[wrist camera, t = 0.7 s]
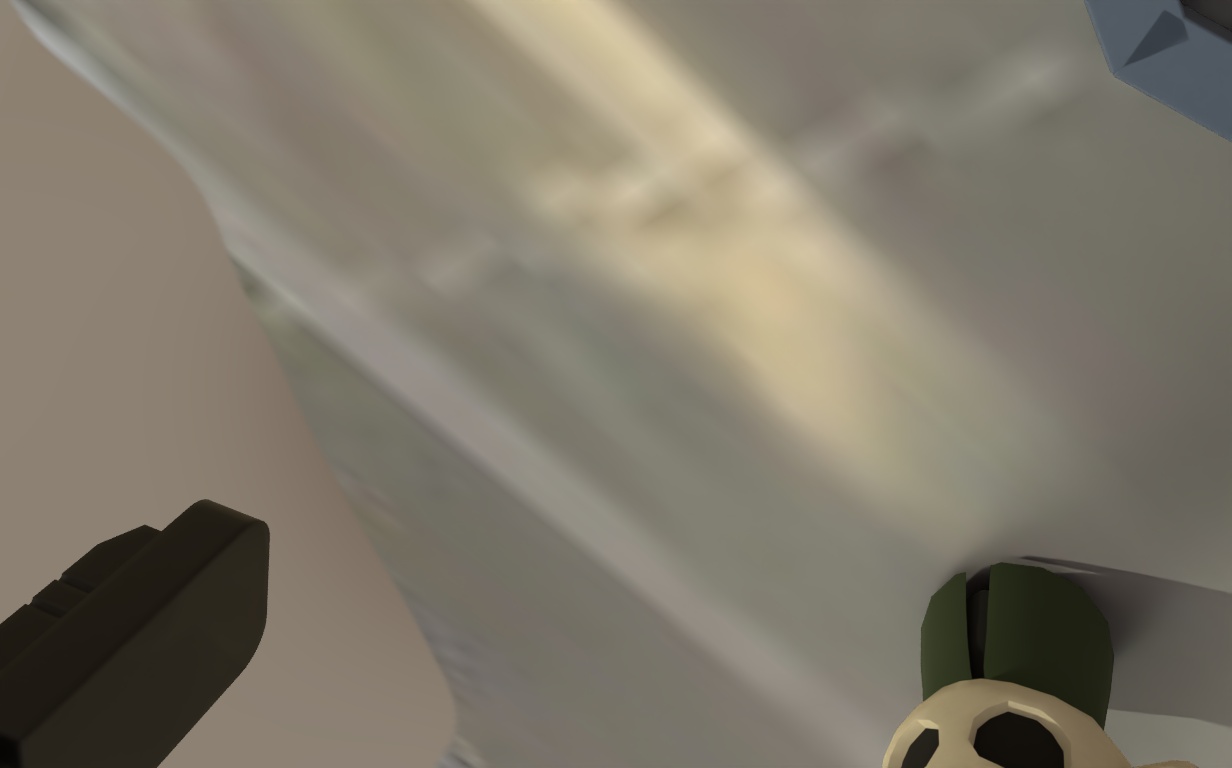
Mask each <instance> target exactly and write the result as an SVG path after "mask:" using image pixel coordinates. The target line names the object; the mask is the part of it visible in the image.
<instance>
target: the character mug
mask: <svg viewBox="0 0 1232 768" xmlns="http://www.w3.org/2000/svg"><path fill="white" fill-rule="evenodd" d="M1113 662H1114V654H1113V648H1112V643H1111V638H1110V632H1109V627H1108V622H1107V621H1106V620H1105V618H1104V617H1103V616H1102V614H1101V613H1100V612H1099V610H1098V609H1097V608H1096V606H1095V605H1094V603H1093V602H1092V601H1091V599H1090V598H1089V597H1088V595H1087V594H1086V593H1085V591H1084V590H1083V589H1082V588H1081V587H1079V586H1077V585H1075V584H1073V583H1071V582H1069V581H1067V580H1066V579H1064V578H1062V577H1060V576H1058V575H1056V574H1054V573H1052V572H1050V571H1048V570H1046V569H1044V568H1040V567H1032V566H1024V565H1016V564H1008V563H998V564H995V565H991V570H990V583H989V590H987V591H979V592H977V593H975V594H974V595H972V596H970V597H969V598H967V599H966V572H965V573H961V574H957V575H955V576H954V577H953V578H952V579H951V580H950V581H948V582H947V583H946V584H945V585H944V586H943V587H942V588H941V589H940V590H938V591H937V592H936V593H935V594H934V595H933V596H932V597H931V600H930V603H929V606H928V609H927V612H926V615H925V618H924V621H923V624H922V627H921V675H922V688H923V703H921V704H920V705H919V706H917V707H916V708H915V709H914V710H913V711H912V713H911V714H910V715H909V716H908V717H907V718H906V719H905V721H904V722H903V723H902V724H901V725H900V726H899V727H898V729H897V730H896V732H895V734H894V736H893V738H892V741H891V743H890V745H889V747H888V750H887V752H886V754H885V756H884V761H883V767H882V768H1131V765H1130V763H1129V762H1128V761H1127V759H1126V758H1125V757H1124V755H1123V754H1122V753H1121V751H1120V750H1119V749H1118V748H1117V746H1116V745H1115V744H1114V743H1113V742H1112V740H1111V739H1110V738H1109V737H1108V736H1107V734H1106V733H1105V732H1104V726H1105V720H1106V714H1107V708H1108V703H1109V697H1110V692H1111V683H1112V672H1113ZM1132 768H1198V767H1197V766H1195V765H1193V764H1192V763H1190V762H1186V761H1168V762H1162V763H1156V764H1150V765H1144V766H1138V767H1132Z"/></svg>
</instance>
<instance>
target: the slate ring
mask: <svg viewBox="0 0 1232 768" xmlns="http://www.w3.org/2000/svg"><path fill="white" fill-rule="evenodd" d="M1084 2H1085V5H1086V8H1087V10H1088V13H1089V16H1090V18H1091V21H1092V24H1093V26H1094V29H1095V32H1096V34H1097V37H1098V40H1099V42H1100V45H1101V48H1102V51H1103V53H1104V56H1105V59H1106V61H1107V64H1108V67H1109V69H1110V72H1111V73H1112V74H1113V75H1114V76H1115V77H1116V78H1118V79H1119V80H1121V81H1123V82H1125V83H1127V84H1128V85H1130V86H1132V87H1134V88H1136V89H1137V90H1139V91H1141V92H1143V93H1145V94H1146V95H1148V96H1150V97H1152V98H1153V99H1155V100H1157V101H1159V102H1161V103H1162V104H1164V105H1166V106H1168V107H1170V108H1171V109H1173V110H1175V111H1177V112H1179V113H1180V114H1182V115H1184V116H1186V117H1187V118H1189V119H1191V120H1193V121H1195V122H1196V123H1198V124H1200V125H1202V126H1204V127H1205V128H1207V129H1209V130H1211V131H1213V132H1214V133H1216V134H1218V135H1220V136H1221V137H1223V138H1225V139H1227V140H1229V141H1230V142H1232V32H1231V31H1230V30H1228V29H1226V28H1224V27H1222V26H1221V25H1219V24H1217V23H1215V22H1213V21H1211V20H1210V19H1208V18H1206V17H1204V16H1202V15H1201V14H1199V13H1197V12H1195V11H1193V10H1192V9H1190V8H1188V7H1186V6H1184V5H1183V4H1182V3H1181V1H1180V0H1084Z"/></svg>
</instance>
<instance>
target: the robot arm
mask: <svg viewBox="0 0 1232 768" xmlns="http://www.w3.org/2000/svg"><path fill="white" fill-rule="evenodd" d="M269 542H270V533H269V528H268V526H267V524H266V523H265V522H264V521H261V520H259V519H256V518H254V517H251V516H249V515H246V514H243V513H241V512H238V511H236V510H233V509H231V508H228V507H225V506H223V505H220V504H218V503H215V502H213V501H210V500H207V499H204V500H200V501H198V502H196V503H194V504H193V505H192V506H190V507H189V508H188V509H187V510H186V511H185V512H183V513H182V514H181V515H180V516H179V517H177V518H176V519H175V520H174V521H173V522H172V523H170V524H169V525H168V526H167V527H166V528H165V529H164V530H162V531H159V530H157V529H154V528H152V527H149V526H147V525H143V526H141V527H138V528H136V529H133V530H131V531H129V532H126V533H124V534H121V535H119V536H116V537H114V538H112V539H109V540H107V541H104V542H102V543H100V544H98V545H96V546H95V547H94V548H93V549H91V550H90V551H89V552H88V553H87V554H85V555H84V556H83V557H82V558H80V559H79V560H78V561H77V562H76V563H74V564H73V565H72V566H71V567H70V568H68V569H67V570H66V571H65V572H63V573H62V576H61V578H60V579H59V580H58V581H57V580H54V581H52V582H51V583H50V584H49V585H48V586H46V587H45V588H44V589H43V590H41V592H39V593H38V594H37V595H35V596H34V597H33V600H32V602H31V603H30V604H29V605H27V604H25V605H23V606H22V607H21V608H19V609H18V610H17V611H16V612H15V613H13V614H12V615H11V616H10V617H9V618H7V619H6V620H5V621H4V622H3V623H1V624H0V768H157V767H158V766H159V764H160V763H161V762H162V761H163V760H164V759H165V758H166V757H167V756H168V755H169V753H170V752H171V751H172V750H173V749H174V748H175V747H176V746H177V744H178V743H179V742H180V741H181V740H182V739H183V738H184V737H185V735H186V734H187V733H188V732H189V731H190V730H191V729H192V728H193V726H194V725H195V724H196V723H197V722H198V721H199V720H200V718H201V717H202V716H203V715H204V714H205V713H206V712H207V711H208V710H209V709H210V707H211V706H212V705H213V704H214V703H215V702H216V700H218V698H219V697H220V696H221V695H222V694H223V693H224V692H225V691H226V689H227V688H228V687H229V686H230V685H231V684H232V683H233V682H234V680H235V679H236V678H237V677H238V676H239V675H240V674H241V673H242V671H243V670H244V669H245V668H246V666H247V665H248V663H249V662H250V660H251V659H252V657H253V655H254V653H255V652H256V650H257V647H258V645H259V643H260V641H261V638H262V635H263V632H264V629H265V624H266V618H267V595H268V569H269V568H268V566H269Z"/></svg>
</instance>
